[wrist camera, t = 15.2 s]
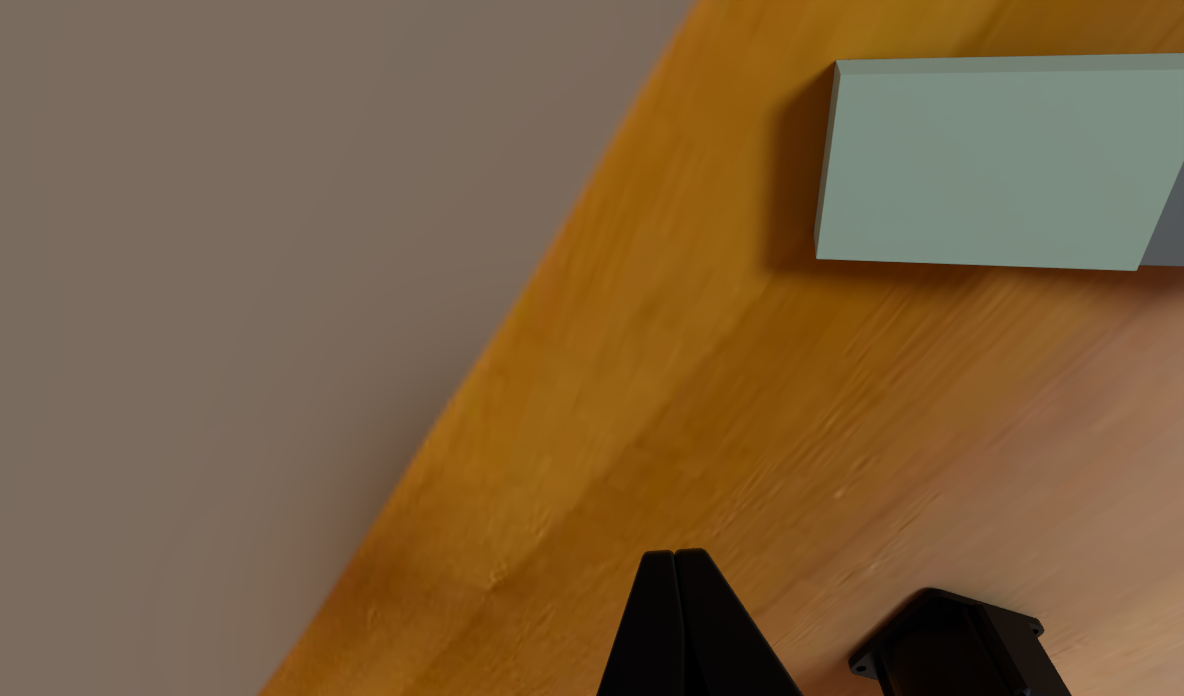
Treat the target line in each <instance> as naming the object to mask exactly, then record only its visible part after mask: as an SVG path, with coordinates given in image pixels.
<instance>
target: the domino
mask: <svg viewBox="0 0 1184 696" xmlns="http://www.w3.org/2000/svg"><path fill="white" fill-rule="evenodd" d="M1139 265H1154V266H1184V162H1183V164H1182V166H1181V169H1180V171H1179V173H1178V176H1177V178H1176V180H1175V183H1174V185H1173V187H1172V190H1171V192H1170V194H1169V197H1168V199H1167V201H1166V204H1165V206H1164V208H1163V211H1162V213H1161V215H1160V218H1159V220H1158V222H1157V225H1156V227H1155V229H1154V232H1153V234H1152V236H1151V239H1150V241H1149V243H1148V246H1147V248H1146V250H1145V253H1144V255H1143V257H1142V260H1141V262H1140V264H1139Z"/></svg>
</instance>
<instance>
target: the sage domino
mask: <svg viewBox="0 0 1184 696" xmlns="http://www.w3.org/2000/svg"><path fill="white" fill-rule="evenodd" d="M1183 162H1184V53H1168V54H1119V55H1069V56H1019V57H970V58H920V59H870V60H836V63H835V71H834V79H833V86H832V94H831V102H830V110H829V118H828V126H827V133H826V141H825V149H824V157H823V165H822V173H821V180H820V188H819V196H818V204H817V212H816V220H815V227H814V243H815V252H816V259H834V260H861V261H887V262H914V263H941V264H967V265H994V266H1020V267H1047V268H1073V269H1100V270H1127V271H1137V269H1138V266H1139V264H1140V262H1141V260H1142V257H1143V255H1144V253H1145V250H1146V248H1147V246H1148V243H1149V241H1150V239H1151V236H1152V234H1153V232H1154V229H1155V227H1156V225H1157V222H1158V220H1159V218H1160V215H1161V213H1162V211H1163V208H1164V206H1165V204H1166V201H1167V199H1168V197H1169V194H1170V192H1171V190H1172V187H1173V185H1174V183H1175V180H1176V178H1177V176H1178V173H1179V171H1180V169H1181V166H1182V164H1183Z"/></svg>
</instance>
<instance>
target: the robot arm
mask: <svg viewBox="0 0 1184 696" xmlns="http://www.w3.org/2000/svg"><path fill="white" fill-rule="evenodd" d="M1043 633H1044V628H1043V626H1042V625H1041V623H1040V621H1039V620H1038V619H1036V618H1033V617H1029V616H1026V615H1023V614H1020V613H1016V612H1013V611H1010V610H1007V609H1003V608H1000V607H997V606H993V605H990V604H987V603H984V602H980V601H977V600H974V599H970V598H967V597H964V596H961V595H957V594H954V593H951V592H948V591H944V590H941V589H930V590H928V591H926V592H924V593H923V594H922V595H921V596H920V597H918V598H917V599H916V600H915V601H914V602H913V603H912V604H911V605H910V606H908V607H907V608H906V609H905V610H904V611H903V612H902V613H901V614H899V615H898V616H897V617H896V618H895V619H894V620H893V621H892V622H891V623H889V624H888V625H887V626H886V627H885V628H884V629H883V630H882V631H880V632H879V633H878V634H877V635H876V636H875V637H874V638H873V639H871V640H870V641H869V642H868V643H867V644H866V645H865V646H864V647H863V648H861V649H860V650H859V651H858V652H857V653H856V654H855V655H854V656H852V657H851V658H850V659H849V661H848V664H849V667H850V670H851V672H852V673H853V674H856V675H860V676H864V677H868V678H871V679H875V680H879V683H880V686H881V688H882V691H883V694H884V696H1072V695H1071V694H1070V692H1069V690H1068V689H1067V687H1066V685H1065V684H1064V682H1063V680H1062V679H1061V677H1060V675H1059V674H1058V672H1057V670H1056V669H1055V667H1054V665H1053V664H1052V662H1051V660H1050V659H1049V657H1048V655H1047V654H1046V652H1045V650H1044V649H1043V647H1042V645H1041V643H1040V642H1039V640H1038V637H1039V636H1040V635H1042V634H1043ZM596 696H803V694H802V693H801V691H800V690H799V688H798V687H797V685H796V684H795V682H794V681H793V679H792V678H791V676H790V675H789V673H788V672H787V670H786V669H785V667H784V666H783V664H782V663H781V661H780V660H779V658H778V657H777V655H776V654H775V653H774V651H773V650H772V648H771V647H770V645H769V644H768V642H767V641H766V639H765V638H764V636H763V635H762V633H761V632H760V630H759V629H758V627H757V626H756V624H755V623H754V621H753V620H752V618H751V617H750V615H749V614H748V612H747V611H746V609H745V608H744V606H743V605H742V603H741V602H740V600H739V599H738V597H737V596H736V594H735V593H734V591H733V590H732V588H731V587H730V585H729V584H728V582H727V581H726V579H725V578H724V576H723V575H722V573H721V572H720V570H719V569H718V567H717V566H716V564H715V563H714V561H713V560H712V558H711V557H710V555H709V554H708V553H707V552H706V551H705V550H704V549H702V548H692V549H679V550H677V551H676V552H675V555H674V553H673V552H672V551H670V550H658V551H647V552H645V553H644V554H643V556H642V558H641V561H640V564H639V567H638V571H637V574H636V577H635V580H634V583H633V586H632V589H631V592H630V595H629V598H628V601H627V604H626V607H625V610H624V613H623V616H622V619H621V622H620V625H619V628H618V631H617V634H616V637H615V640H614V643H613V646H612V649H611V653H610V656H609V659H608V662H607V665H606V668H605V671H604V674H603V677H602V680H601V683H600V686H599V689H598V692H597V695H596Z"/></svg>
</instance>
